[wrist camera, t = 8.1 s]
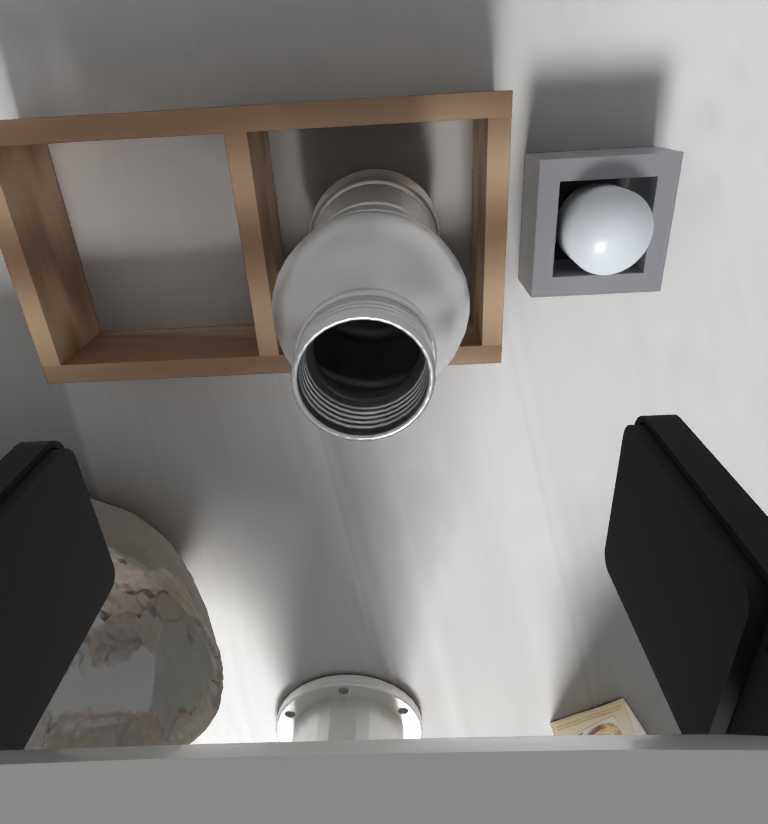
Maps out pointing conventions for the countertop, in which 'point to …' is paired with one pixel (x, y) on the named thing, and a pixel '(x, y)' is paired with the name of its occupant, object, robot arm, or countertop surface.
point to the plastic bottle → (369, 307)
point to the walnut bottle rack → (258, 224)
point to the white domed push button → (604, 227)
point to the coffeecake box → (600, 721)
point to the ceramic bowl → (138, 653)
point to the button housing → (542, 175)
